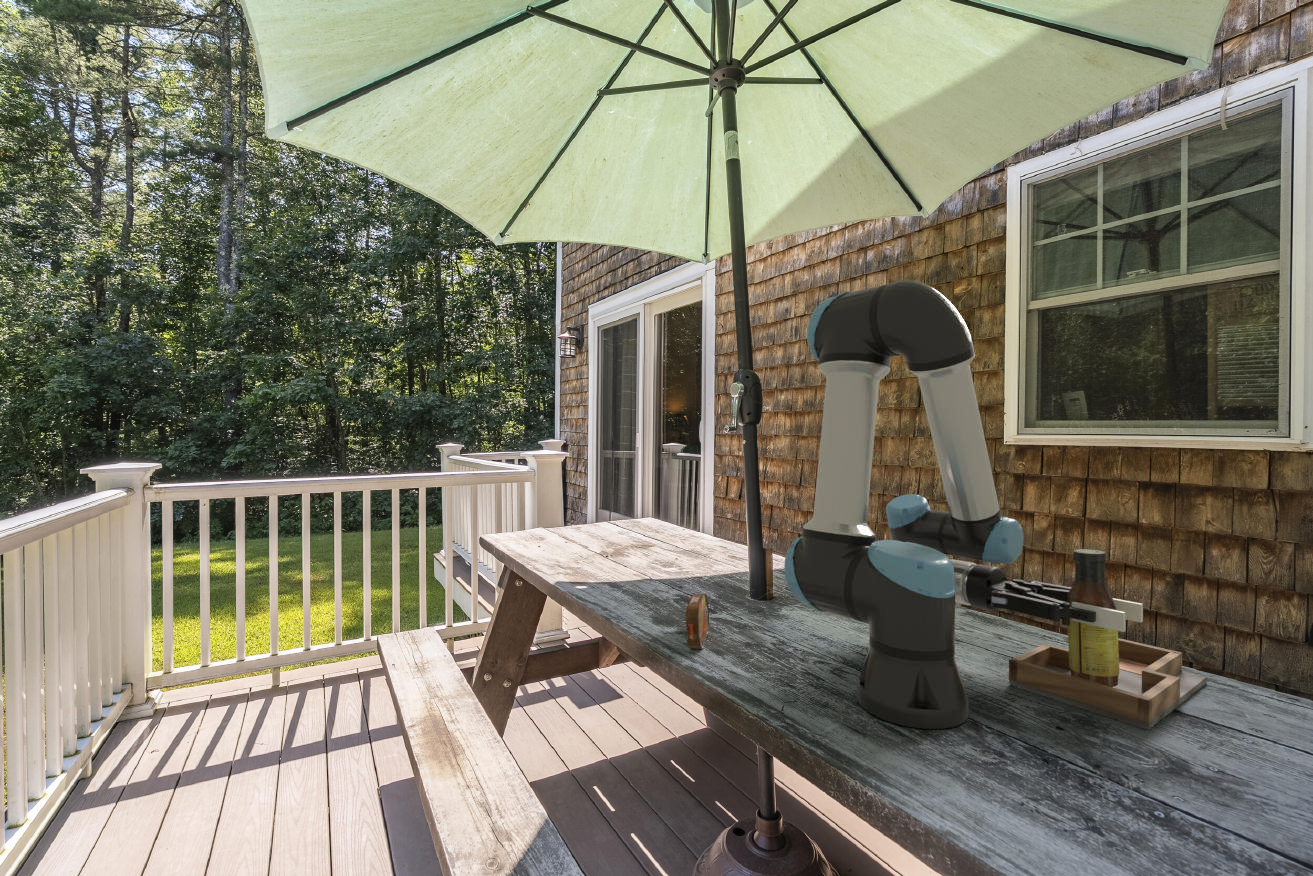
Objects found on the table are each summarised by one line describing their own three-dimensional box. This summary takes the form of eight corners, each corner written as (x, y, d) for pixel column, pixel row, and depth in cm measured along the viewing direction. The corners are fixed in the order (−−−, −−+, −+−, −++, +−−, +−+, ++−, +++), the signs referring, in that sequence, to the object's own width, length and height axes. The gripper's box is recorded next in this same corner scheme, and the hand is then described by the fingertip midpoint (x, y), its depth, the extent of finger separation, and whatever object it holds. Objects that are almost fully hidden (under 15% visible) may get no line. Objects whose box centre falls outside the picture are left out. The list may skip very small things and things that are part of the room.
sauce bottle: (1129, 686, 92) (1129, 553, 91) (1101, 693, 89) (1102, 557, 89) (1084, 670, 98) (1084, 545, 97) (1057, 676, 95) (1057, 549, 95)
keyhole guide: (1148, 730, 82) (1148, 700, 82) (1008, 685, 97) (1009, 660, 97) (1206, 683, 97) (1206, 658, 97) (1077, 650, 112) (1077, 628, 112)
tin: (700, 656, 111) (700, 609, 111) (683, 655, 111) (683, 608, 111) (710, 629, 125) (710, 588, 125) (695, 628, 126) (694, 588, 126)
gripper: (1001, 597, 114) (1156, 630, 95) (945, 616, 103) (1107, 658, 84) (1001, 556, 113) (1156, 581, 95) (944, 571, 102) (1107, 603, 84)
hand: (1133, 617), depth 89 cm, fingers closed on sauce bottle, 6 cm apart
